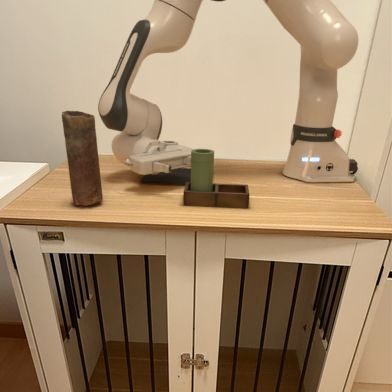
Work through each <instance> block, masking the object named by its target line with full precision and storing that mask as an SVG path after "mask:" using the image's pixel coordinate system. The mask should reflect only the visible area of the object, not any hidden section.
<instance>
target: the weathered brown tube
mask: <svg viewBox="0 0 392 392" xmlns="http://www.w3.org/2000/svg"><path fill="white" fill-rule="evenodd" d="M95 118H96V117H95V115H94V114H90V113H87V112H84V111H79V110H66V111H62V112H61V121H62V128H63V136H64V145H65V151H66V159H67V165H68V166H67V168H68V176H69V183H70V190H71V191H70V192H71V198H72V204H73V205H74V206H85V207H87V206H92V205H97V204H100V203H101V202H103V199H104V197H103V186H102V178H101V169H100V168H101V167H100V157H99V150H98V140H97V139H98V138H97V129H96V119H95Z"/></svg>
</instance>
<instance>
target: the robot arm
mask: <svg viewBox="0 0 392 392" xmlns="http://www.w3.org/2000/svg"><path fill="white" fill-rule="evenodd" d="M203 1H204V0H154V1H153V4H152V7H151V8H150V11H149V12H148V14H147V15H146V16H145V18H143V19H141V20H138V21H137V22H136V23H135V25H134V26H133V28H132V30H131V31H130V33H129V36H128V38H127V39H126V43H125V44H124V47H123V49H122V52H121V54H120V56H119V58H118V61H117V63H116V66H115V68H114V70H113V73H112V75H111V77H110V80H109V82H108V84H106V87H105V89H104V90H103V92H102V94H101V95H100V97H99V100H98V103H97V109H98V115H99V117H100V120H101V122H102V123H103V125H104V126H105V128H107V129H108V130H111V131H117V132H119V133H117V134H116V135H115V136H114V137H113V138H112V141H111V151H112V154H113V156H114V157H115V158H116V159H117V161H119V162H120V163H121V164H123V165H124V166H127V167H130V170H131V172H134V173H136V174H138V175H142V176H144V175H147V174H152V175H155V174H158V173H160V172H165V173H169V172H171V171H172V170H173V169H178V168H190V167H191V151H192V150H194V149H195V148H192V147H189V146H186V145H181V144H179V141H175V140H174V141H172V140H159V139H160V136H161V134H162V130H163V116H162V112H161V109H160V108H159V106H158V104H155V103H153V102H151V101H149V100H147V99H145V98H141V97H140V96H138V95H135V94H132V93H131V88H132V86H133V84H134V82H135V79H136V77H137V76H138V75H137V74H138V72H139V71H140V69H141V66H142V63H143V61H144V60H145V59H146V58H147V57H148V56H150V55H153V54H172V53H174V52H178V51H180V50H181V49H183V48H184V47H185V46H186V45H187V43H188V42H189V40H190V37H191V34H192V32H193V30H194V27H195V23H196V19H197V17H198V13H199V10H200V7H201V5H202V3H203ZM211 1H213V2H225V1H226V0H211ZM262 1H263V2H264V4H265V5H266V6H267V8H268V9H269V11H270V12H271V13H272V14H273V16H274V17H275V18H276V20H277V21H278V22H279V24H280V25H281V26H282V27H283V30H285V31H286V32H287V33H289V34H290V36H291V37H293V39H294V40H295V41H296V42H297V43H298V44H299V49H300V61H299V62H300V63H299V87H298V88H299V90H298V98H297V107H296V113H295V114H296V115H295V120H294V123H293V125H292V128H291V134H290V139H289V140H290V141H289V142H290V146H289V151H288V155H287V158H286V161H285V163H284V166H283V170H282V171H281V173H282V175H284V176H286V177H288V178H291V179H295V180H300V181H303V182H305V183H352V182H354V181H355V177H356V176H355V174H356V173H357V172H358V170H359V167H358V162H357V161H356V160H355V159H354V158H350V156H349V155H348V154H347V152H346V150H344V149H343V147H342V146H341V145H340V144H339V143H338V142H337V141H336V140H337V139H339V138H341V137H342V134H343V132H342V131H341V130H340V129H336V128H335V127H334V126H333V123H334V119H335V113H336V108H337V102H338V98H339V93H338V70H339V69H341V68H343V67H345V66H346V65H348V64H349V63H350V62H351V61H352V60H353V58H354V57H355V55H356V53H357V50H358V46H359V35H358V31H357V29H356V27H355V26H354V25H353V24H352V23H351V22H350V21H349V20H348V19H347V17H345V15H344V14H343V13H342V12H341V11H340V9H338V7H337V6H336V5H335V4H334V2H332V1H331V0H262Z"/></svg>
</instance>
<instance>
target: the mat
mask: <svg viewBox="0 0 392 392" xmlns="http://www.w3.org/2000/svg"><path fill="white" fill-rule="evenodd" d="M186 182H191V167H184V168H178V169H173V170H172V171H171V172H169V173H165V172H160V173H158V174H155V175H152V174H147V175H142V178H141V179H140V184H141V185H164V186H165V185H167V186H185V185H186Z"/></svg>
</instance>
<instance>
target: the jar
mask: <svg viewBox="0 0 392 392" xmlns="http://www.w3.org/2000/svg"><path fill="white" fill-rule="evenodd" d="M193 149H194V150H192V151H191V166H190V168H191V191H206V192H212V188H213V183H214V165H215V150H212V149H208V148H193Z"/></svg>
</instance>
